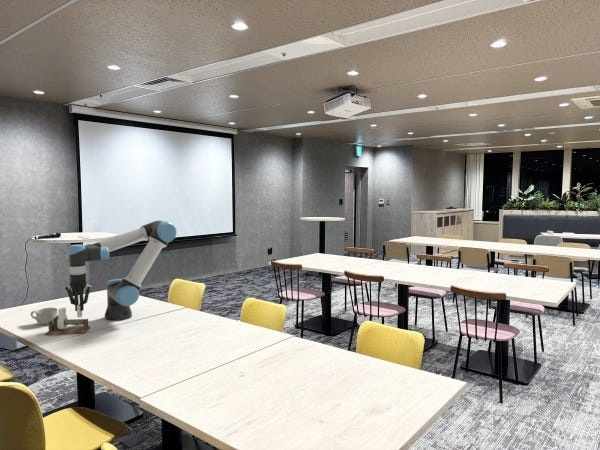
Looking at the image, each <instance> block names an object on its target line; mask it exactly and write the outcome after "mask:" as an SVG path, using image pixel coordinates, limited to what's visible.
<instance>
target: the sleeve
mask: <svg viewBox="0 0 600 450" xmlns="http://www.w3.org/2000/svg"><path fill="white" fill-rule="evenodd" d="M57 312H58V316H59V318H58V320H57V327H58V329H64V328H66V327H67V326H68V325H64V320H68V315H67V307H60V308H58V310H57Z"/></svg>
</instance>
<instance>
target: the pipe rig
mask: <svg viewBox="0 0 600 450" xmlns="http://www.w3.org/2000/svg"><path fill="white" fill-rule="evenodd" d="M64 325H67V327H66V328H64V329H58V330H54V320H50V321H49V322H48V325H47V326H48V331H46V332H45V333H44V335H45V336H62V335H63V336H64V335H84V334H85V333H87V332H88V331H89V330H90V329H91V328H92V325H89V318H78V319H77V318H76V319H75V318H74V319H73V318H72V319H68V320H64ZM73 325H74V326H73ZM75 325H76V326H75Z"/></svg>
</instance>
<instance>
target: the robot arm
mask: <svg viewBox="0 0 600 450" xmlns="http://www.w3.org/2000/svg"><path fill="white" fill-rule="evenodd" d="M176 237H177V227H176V226H175V225H174V224H173V223H172V222H169V221H167V220H165V221H164V220H155V221H152V222H149V223H146V224H144V225H141V226H140V227H139V228H136V229H134V230H130V231H128V232H125V233H122V234H118V235H115V236H113V237H109V238H105V239H103V240H101V241H97V242H95V243H89V244H86V245H84V244H81V243H80V244H71V245H70V246H69V247H68V260H69V282H70V283H69V285H67V286H66V287H65V288H64V289H65V290H66V292H67V295H68V298H69V302H70V304H71V305H74V311H75V312H76V317H77V318H78V319H80V318H81V317H83V311H84V305H85V304H87V303H88V300H89V295H90V291H91V288H93V287H92V285H90V284H88V282H87V275H86V268H87V267H86V263H87V262H96V261H98V262H99V261H106V260H108V259H109V258H110V252H114V251H116V250H118V249H122V248H125V247H128V246H131V245H133V244H137V243H139V242H142V241H146V242H147V241H148V242H147V244H146V245H145V247H144V249H143V251H142V252H141V253H140V255H139V257H138V258H137V260H136V262H135V263H134V265H133V267H132V268H131V270H130V272H129V273H128V275H127V276H126V277H123V278H117V279H115V278H114V279H110V280H107V282H106V293H107V294H106V297H107V298H106V299H107V300H106V301H107V305H106V306H107V307H106V309H105V312H104V320H106V321H111V322H112V321H115V322H116V321H124V320H128V319H130V318H132V317H133V312H132V309H131V306H132V305H135V304H136V302H137V301H138V300H139V297H140V291H141V289H142V282H143V280H144V279H145V278H146V275H147V274H148V272H149V270H150V269H151V268H152V266H153V264H154V262H155V261H156V259H157V258H158V256H159V254H160V253H161V251H162V249H163V248H166V247H167V246H168V245H169V243H170V242H172V241H173V240H175V238H176ZM84 289H86V290H85V291H84ZM84 292H85V293H84ZM77 318H76V319H77Z"/></svg>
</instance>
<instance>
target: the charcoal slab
mask: <svg viewBox="0 0 600 450" xmlns="http://www.w3.org/2000/svg"><path fill="white" fill-rule="evenodd" d="M58 318H59V316H57V317H55V318H54V330H58V327H57V320H58Z"/></svg>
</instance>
